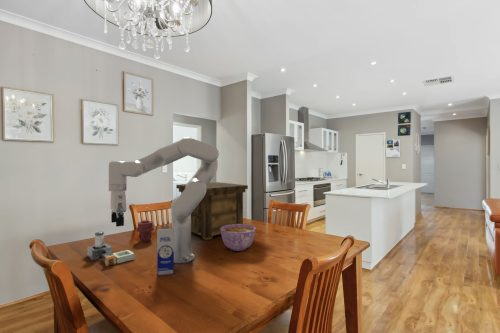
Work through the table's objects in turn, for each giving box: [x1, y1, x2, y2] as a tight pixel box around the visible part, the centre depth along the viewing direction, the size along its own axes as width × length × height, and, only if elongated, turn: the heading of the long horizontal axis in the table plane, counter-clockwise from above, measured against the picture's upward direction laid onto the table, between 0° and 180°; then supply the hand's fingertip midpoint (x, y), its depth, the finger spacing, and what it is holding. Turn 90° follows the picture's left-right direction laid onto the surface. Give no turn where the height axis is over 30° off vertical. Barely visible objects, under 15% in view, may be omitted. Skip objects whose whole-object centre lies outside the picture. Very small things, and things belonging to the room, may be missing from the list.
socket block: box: [86, 242, 113, 261], centre depth 138 cm, size 9×9×4 cm
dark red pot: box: [136, 219, 155, 243], centre depth 164 cm, size 12×10×10 cm
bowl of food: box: [220, 223, 257, 252], centre depth 150 cm, size 20×20×12 cm
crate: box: [175, 181, 249, 241], centre depth 183 cm, size 35×35×33 cm
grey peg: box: [94, 231, 105, 258], centre depth 138 cm, size 4×4×12 cm
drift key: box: [101, 253, 117, 267], centre depth 128 cm, size 10×4×4 cm, turn 45°
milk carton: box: [156, 226, 175, 277], centre depth 118 cm, size 7×7×20 cm
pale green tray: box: [112, 249, 136, 264], centre depth 133 cm, size 8×8×3 cm
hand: (117, 224), depth 125 cm, fingers open, 9 cm apart
